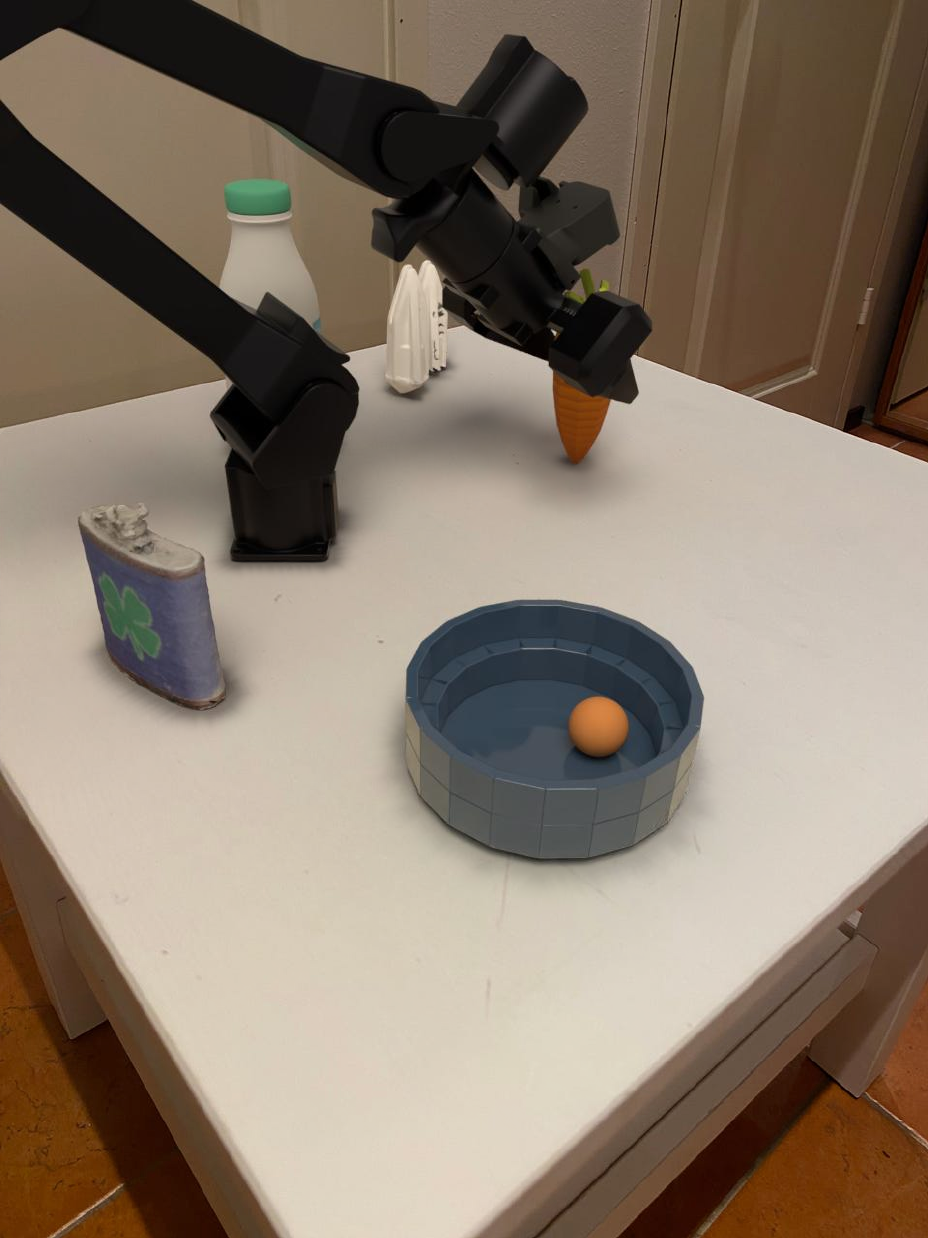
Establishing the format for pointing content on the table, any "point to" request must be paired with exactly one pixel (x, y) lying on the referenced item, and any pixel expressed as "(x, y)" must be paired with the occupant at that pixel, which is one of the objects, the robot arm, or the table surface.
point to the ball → (598, 726)
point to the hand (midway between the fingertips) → (595, 377)
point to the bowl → (549, 727)
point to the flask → (153, 606)
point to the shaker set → (416, 328)
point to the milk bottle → (265, 250)
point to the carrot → (579, 399)
